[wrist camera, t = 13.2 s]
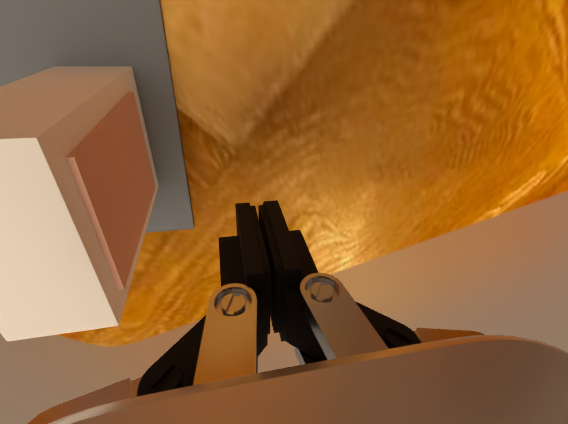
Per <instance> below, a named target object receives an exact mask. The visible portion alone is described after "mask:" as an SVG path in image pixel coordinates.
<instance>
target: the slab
mask: <svg viewBox="0 0 568 424" xmlns="http://www.w3.org/2000/svg"><path fill="white" fill-rule="evenodd" d="M158 187H159V185H158V181H157V176H156V172H155V167H154V163H153V158H152V154H151V149H150V145H149V141H148V136H147V132H146V127H145V123H144V118H143V114H142V110H141V105H140V101H139V96H138V92H137V87H136V83H135V78H134V74H133V70H132V66H54V67H52V68H49V69H46V70H44V71H41V72H39V73H36V74H33V75H31V76H28V77H25V78H23V79H20V80H17V81H15V82H12V83H9V84H7V85H4V86H1V87H0V333H1V334H2V336H3V337H4V338H5V339H6V341H14V340H20V339H28V338H35V337H42V336H49V335H56V334H63V333H71V332H78V331H85V330H92V329H99V328H106V327H113V326H119V322H120V319H121V315H122V312H123V309H124V305H125V302H126V298H127V295H128V291H129V288H130V284H131V281H132V277H133V274H134V270H135V267H136V263H137V260H138V256H139V253H140V249H141V246H142V242H143V239H144V236H145V232H146V229H147V225H148V222H149V218H150V215H151V211H152V208H153V204H154V201H155V197H156V194H157V190H158Z"/></svg>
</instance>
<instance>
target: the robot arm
mask: <svg viewBox="0 0 568 424" xmlns="http://www.w3.org/2000/svg"><path fill="white" fill-rule="evenodd" d="M236 223H237V236H231V237H221V238H219V253H220V274H221V287H220V288H218V289H217V290H215V292H214V293H213V294H212V295H211V297H210V300H209V304H208V309H207V314H206V316H205V317H203V318H202V319H201V320H200V321H199V322H198V323H197V324H196V325H195V326H194V327H193V328H192V329H191V330H190V331H188V332H187V333H186V334H185V335H184V336H183V337H182V338H181V339H180V340H179V341H178V342H177V343H176V344H174V345H173V346H172V347H171V348H170V349H169V350H168V351H167V352H166V353H165V354H164V355H163V356H162V357H160V359H158V360H157V361H156V362H155V363H154V364H153V365H152V366H151V367H150V368H149V369H148V370H147V371H146V372H145V374H144V375H143V376H142V377H141V378H138V379H135V380H133V381H131V380H130V378H128V379H125V380H122V381H120V382H117V383H115V384H112V385H110V386H107V387H104V388H101V389H99V390H96V391H94V392H91V393H88V394H86V395H83V396H81V397H78V398H75V399H73V400H70V401H67V402H65V403H62V404H59V405H57V406H54V407H52V408H50V409H48V410H46V411H44V412H42V413H40V414H39V415H37V416H36V417H35V418H34V419H33V420H32V421H30V422H29V423H28V424H568V353H567V352H566V351H564V350H562V349H560V348H557V347H555V346H553V345H550V344H547V343H543V342H540V341H537V340H532V339H526V338H521V337H516V336H504V335H484V334H482V333H480V332H475V331H466V330H465V331H464V330H448V329H429V328H417V329H416V331H412V330H411V329H410V328H408V327H407V326H405V325H403V324H401V323H399V322H397V321H395V320H393V319H391V318H389V317H387V316H384V315H382V314H380V313H378V312H376V311H374V310H372V309H370V308H368V307H366V306H364V305H362V304H360V303H357V302H355V301H354V299H353V298H352V297H351V295H350V294H349V293H348V291H347V290H346V288H345V287H344V286H343V284H342V283H341V282H340V281H339V280H338V279H337V278H335V277H334V276H332V275H329V274H326V273H318V271H317V268H316V266H315V264H314V261H313V259H312V257H311V254H310V252H309V250H308V247H307V245H306V243H305V240H304V238H303V236H302V233H301V231H300V230H294V231H289V230H288V227H287V224H286V222H285V219H284V216H283V214H282V211H281V208H280V206H279V203H278V201H264V203H263V205H259V220H258V216H257V212H256V208H255V206H250V203H237V204H236ZM270 316H271V321H272V326H273V330H274V333H277V332H279V333H280V338H281V341H286V342H288V343H289V344H291V345H293V346H294V347H295V348H294V350H295V354H296V356H297V359H298V361H299V363H300V365H299V366H293V367H288V368H283V369H277V370H272V371H266V372H261V373H258V356H259V355H260V353H261V352H262V351H263V349H264V348H265V347H266V346H267V334H270Z"/></svg>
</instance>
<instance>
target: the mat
mask: <svg viewBox="0 0 568 424" xmlns="http://www.w3.org/2000/svg"><path fill="white" fill-rule="evenodd" d="M54 66H132V70H133V74H134V78H135V83H136V87H137V92H138V96H139V101H140V105H141V110H142V114H143V118H144V123H145V127H146V132H147V136H148V141H149V145H150V149H151V154H152V158H153V163H154V167H155V172H156V176H157V181H158V185H159V187H158V190H157V194H156V197H155V201H154V204H153V208H152V211H151V215H150V218H149V222H148V225H147V229H146V232H158V231H170V230H182V229H194V221H193V214H192V208H191V201H190V195H189V188H188V182H187V175H186V169H185V162H184V156H183V149H182V143H181V136H180V130H179V123H178V116H177V110H176V103H175V97H174V90H173V84H172V77H171V71H170V64H169V58H168V51H167V45H166V38H165V32H164V25H163V19H162V12H161V6H160V0H0V87H1V86H4V85H7V84H9V83H12V82H15V81H17V80H20V79H23V78H25V77H28V76H31V75H33V74H36V73H39V72H41V71H44V70H46V69H49V68H52V67H54ZM146 232H145V233H146Z"/></svg>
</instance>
